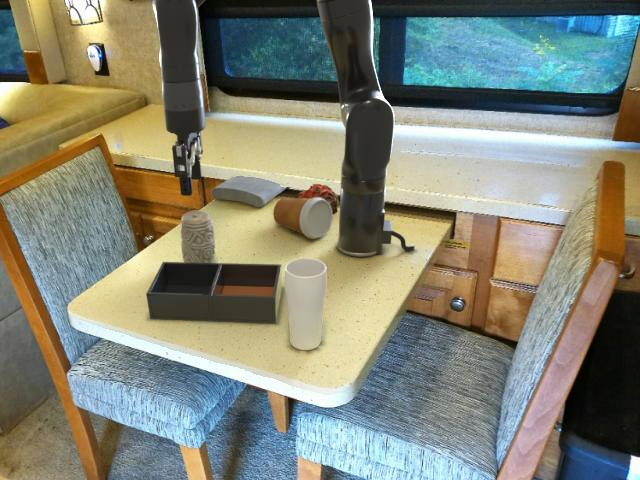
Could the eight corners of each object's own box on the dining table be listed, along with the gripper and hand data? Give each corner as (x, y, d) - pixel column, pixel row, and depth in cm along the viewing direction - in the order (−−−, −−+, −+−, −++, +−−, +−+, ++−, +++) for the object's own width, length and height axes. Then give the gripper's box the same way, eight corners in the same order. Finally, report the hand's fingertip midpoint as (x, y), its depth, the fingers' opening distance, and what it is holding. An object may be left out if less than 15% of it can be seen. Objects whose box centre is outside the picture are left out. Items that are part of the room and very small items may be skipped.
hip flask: (263, 208, 153) (299, 182, 167) (262, 193, 151) (299, 168, 165) (212, 198, 160) (250, 173, 174) (210, 184, 158) (249, 160, 172)
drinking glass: (283, 333, 106) (281, 259, 98) (320, 329, 107) (322, 255, 99) (288, 356, 101) (288, 279, 93) (328, 352, 101) (331, 275, 93)
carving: (208, 276, 125) (203, 224, 119) (177, 269, 128) (171, 218, 122) (222, 262, 130) (218, 211, 123) (192, 256, 133) (187, 206, 126)
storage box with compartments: (281, 289, 119) (281, 264, 116) (276, 323, 109) (275, 297, 106) (166, 285, 123) (162, 261, 120) (150, 319, 113) (146, 293, 110)
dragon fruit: (338, 228, 144) (299, 223, 152) (352, 199, 146) (313, 195, 154) (323, 208, 138) (283, 204, 146) (338, 178, 140) (297, 175, 148)
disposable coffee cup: (286, 237, 146) (323, 246, 137) (262, 221, 139) (299, 229, 131) (301, 202, 146) (339, 208, 138) (278, 184, 140) (316, 189, 131)
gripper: (195, 114, 104) (203, 201, 113) (210, 94, 116) (216, 174, 125) (153, 114, 105) (164, 200, 114) (173, 94, 117) (181, 173, 126)
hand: (191, 186), depth 119 cm, fingers open, 8 cm apart
